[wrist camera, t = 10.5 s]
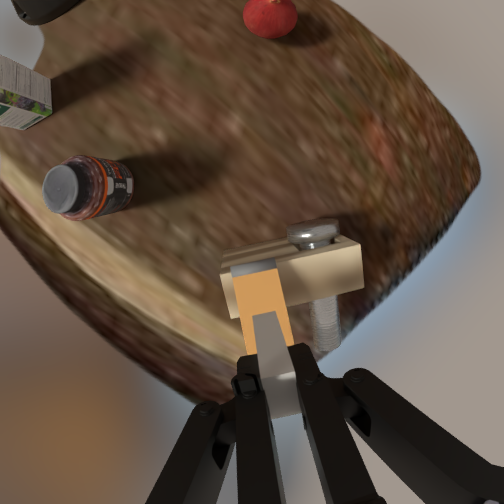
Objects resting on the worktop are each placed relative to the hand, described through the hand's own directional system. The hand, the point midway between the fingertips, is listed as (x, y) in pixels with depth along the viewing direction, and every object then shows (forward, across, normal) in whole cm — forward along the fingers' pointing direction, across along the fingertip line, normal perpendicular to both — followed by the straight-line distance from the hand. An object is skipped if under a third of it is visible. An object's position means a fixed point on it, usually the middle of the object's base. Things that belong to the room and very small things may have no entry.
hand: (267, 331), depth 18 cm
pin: (+12, -6, +2) cm, 14 cm away
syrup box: (+15, +24, -28) cm, 40 cm away
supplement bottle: (+15, +14, -13) cm, 24 cm away
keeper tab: (+4, 0, 0) cm, 4 cm away
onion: (+15, -7, -28) cm, 32 cm away
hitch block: (+15, -3, -1) cm, 15 cm away
